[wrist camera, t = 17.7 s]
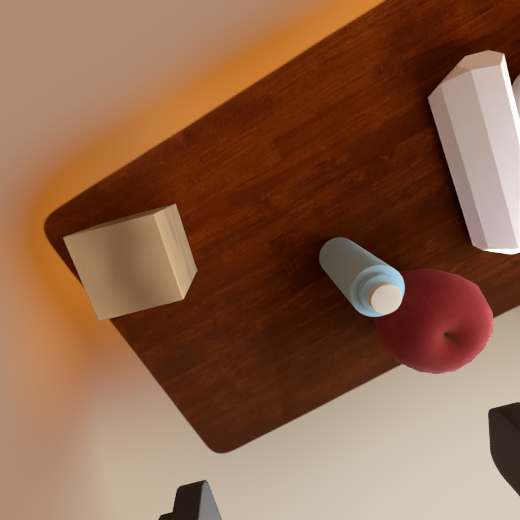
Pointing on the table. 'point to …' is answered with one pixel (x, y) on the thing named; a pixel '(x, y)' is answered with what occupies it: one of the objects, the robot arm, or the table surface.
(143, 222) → the cube
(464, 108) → the crystal
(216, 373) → the table surface
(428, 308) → the apple
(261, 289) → the table surface
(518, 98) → the cylindrical container
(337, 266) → the bottle
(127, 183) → the table surface
